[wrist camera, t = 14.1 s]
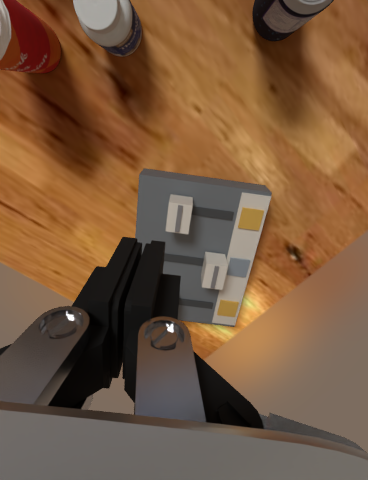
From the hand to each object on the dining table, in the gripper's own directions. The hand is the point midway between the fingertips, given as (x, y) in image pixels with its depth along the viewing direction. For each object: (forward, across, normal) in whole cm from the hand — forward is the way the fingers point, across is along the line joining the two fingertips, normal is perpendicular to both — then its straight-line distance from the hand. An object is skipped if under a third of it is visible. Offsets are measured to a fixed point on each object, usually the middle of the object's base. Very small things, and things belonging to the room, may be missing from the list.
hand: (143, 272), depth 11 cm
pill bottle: (+32, +9, -14) cm, 35 cm away
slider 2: (+27, -7, +15) cm, 32 cm away
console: (+31, -4, +15) cm, 35 cm away
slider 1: (+27, -1, +7) cm, 28 cm away
